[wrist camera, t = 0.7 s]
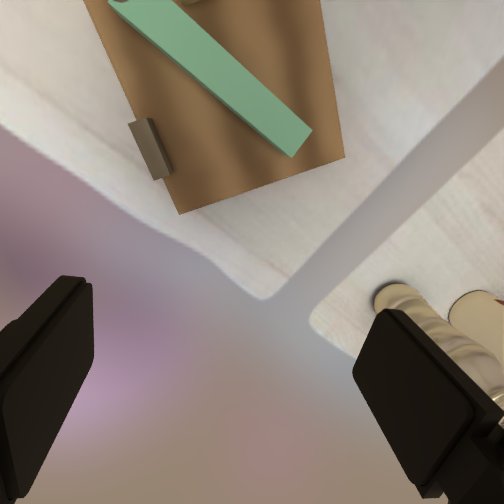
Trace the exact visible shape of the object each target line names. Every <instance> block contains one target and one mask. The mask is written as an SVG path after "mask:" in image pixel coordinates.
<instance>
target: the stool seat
mask: <svg viewBox="0 0 504 504" xmlns="http://www.w3.org/2000/svg"><path fill="white" fill-rule="evenodd" d="M83 1H84V3H85V5H86V7H87V10H88V12H89V14H90V16H91V19H92V21H93V23H94V25H95V28H96V30H97V32H98V34H99V37H100V39H101V41H102V43H103V45H104V48H105V50H106V52H107V54H108V57H109V59H110V61H111V63H112V66H113V68H114V70H115V72H116V75H117V77H118V79H119V81H120V84H121V86H122V88H123V90H124V93H125V95H126V97H127V99H128V101H129V104H130V106H131V108H132V110H133V113H134V115H135V117H136V119H137V121H135V122H132V123H129V124H128V125H129V127H130V130H131V132H132V134H133V136H134V138H135V140H136V143H137V145H138V147H139V149H140V151H141V153H142V156H143V158H144V160H145V162H146V164H147V166H148V169H149V171H150V173H151V175H152V177H153V179H154V180H157V179H160V178H163V180H164V182H165V184H166V187H167V189H168V191H169V193H170V195H171V198H172V200H173V202H174V204H175V207H176V209H177V211H178V213H179V215H180V214H183V213H186V212H189V211H192V210H195V209H198V208H201V207H203V206H206V205H209V204H212V203H215V202H218V201H221V200H224V199H227V198H229V197H232V196H235V195H238V194H241V193H244V192H247V191H250V190H253V189H255V188H258V187H261V186H264V185H267V184H270V183H273V182H276V181H279V180H281V179H284V178H287V177H290V176H293V175H296V174H299V173H302V172H305V171H307V170H310V169H313V168H316V167H319V166H322V165H325V164H328V163H331V162H333V161H336V160H339V159H342V158H345V153H344V147H343V141H342V135H341V129H340V122H339V116H338V110H337V104H336V97H335V91H334V85H333V79H332V73H331V66H330V60H329V54H328V48H327V42H326V35H325V29H324V23H323V17H322V11H321V4H320V0H172V1H173V2H174V3H175V4H176V5H177V6H178V7H180V8H181V9H182V10H183V11H184V12H185V13H186V14H187V15H188V16H189V17H190V18H191V19H193V20H194V21H195V22H196V23H197V24H198V25H199V26H200V27H201V28H202V29H203V30H204V31H206V32H207V33H208V34H209V35H210V36H211V37H212V38H213V39H214V40H215V41H216V42H217V43H219V44H220V45H221V46H222V47H223V48H224V49H225V50H226V51H227V52H228V53H229V54H230V55H232V56H233V57H234V58H235V59H236V60H237V61H238V62H239V63H240V64H241V65H242V66H243V67H245V68H246V69H247V70H248V71H249V72H250V73H251V74H252V75H253V76H254V77H255V78H256V79H258V80H259V81H260V82H261V83H262V84H263V85H264V86H265V87H266V88H267V89H268V90H269V91H271V92H272V93H273V94H274V95H275V96H276V97H277V98H278V99H279V100H280V101H281V102H282V103H284V104H285V105H286V106H287V107H288V108H289V109H290V110H291V111H292V112H293V113H294V114H295V115H297V116H298V117H299V118H300V119H301V120H302V121H303V122H304V123H305V124H306V125H307V126H308V127H310V128H311V129H312V130H313V131H312V132H311V133H310V135H309V136H308V137H307V139H306V140H305V141H304V143H303V144H302V145H301V147H300V148H299V149H298V150H297V152H296V153H295V154H294V156H293V157H292V158H290V157H288V156H285V155H284V154H282V153H281V152H280V151H279V150H278V149H276V148H275V147H274V146H273V145H272V144H271V143H269V142H268V141H267V140H266V139H265V138H263V137H262V136H261V135H260V134H259V133H257V132H256V131H255V130H254V129H253V128H252V127H250V126H249V125H248V124H247V123H246V122H244V121H243V120H242V119H241V118H240V117H238V116H237V115H236V114H235V113H234V112H233V111H231V110H230V109H229V108H228V107H227V106H225V105H224V104H223V103H222V102H221V101H219V100H218V99H217V98H216V97H215V96H214V95H212V94H211V93H210V92H209V91H208V90H206V89H205V88H204V87H203V86H202V85H200V84H199V83H198V82H197V81H196V80H195V79H193V78H192V77H191V76H190V75H189V74H187V73H186V72H185V71H184V70H183V69H181V68H180V67H179V66H178V65H177V64H176V63H174V62H173V61H172V60H171V59H170V58H168V57H167V56H166V55H165V54H164V53H162V52H161V51H160V50H159V49H158V48H157V47H155V46H154V45H153V44H152V43H151V42H149V41H148V40H147V39H146V38H145V37H143V36H142V35H141V34H140V33H139V32H138V31H136V30H135V29H134V28H133V27H132V26H130V25H129V24H128V23H127V22H126V21H124V20H123V19H122V18H121V17H120V16H119V15H118V14H117V13H116V12H115V10H114V9H113V8H112V7H111V6H110V4H109V3H108V0H83Z"/></svg>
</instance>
